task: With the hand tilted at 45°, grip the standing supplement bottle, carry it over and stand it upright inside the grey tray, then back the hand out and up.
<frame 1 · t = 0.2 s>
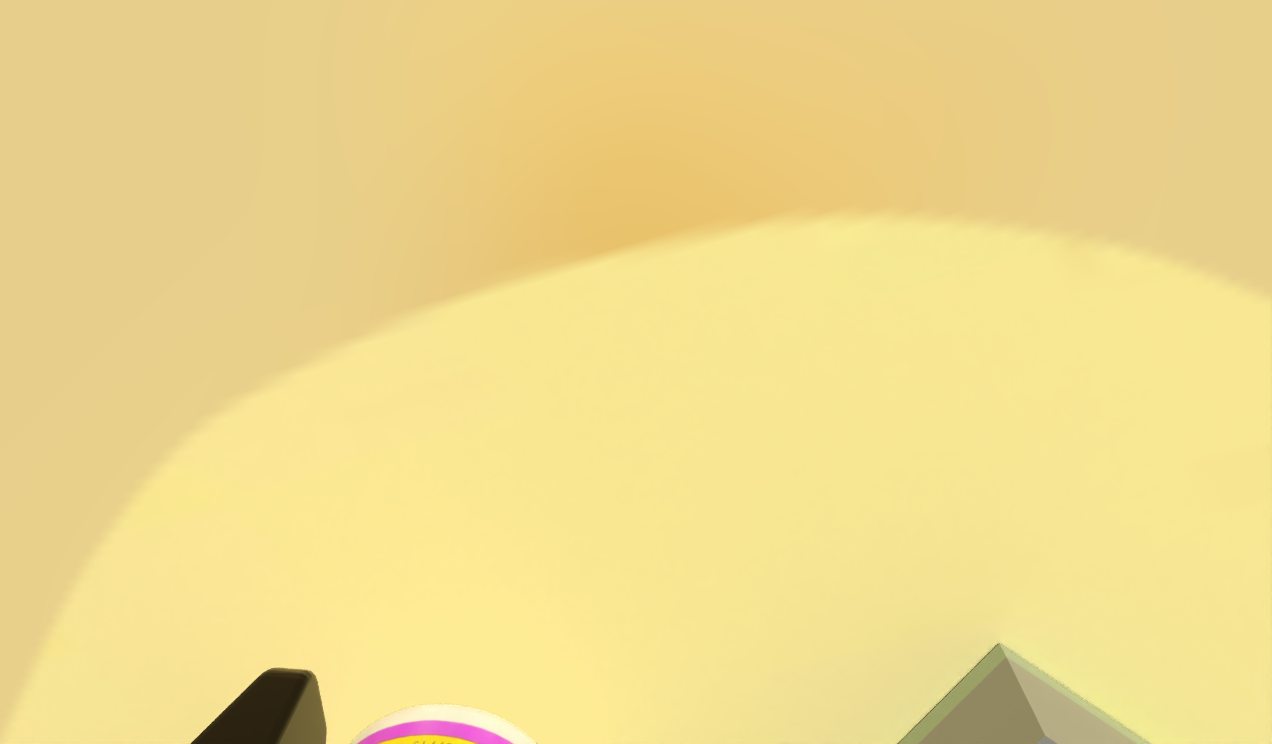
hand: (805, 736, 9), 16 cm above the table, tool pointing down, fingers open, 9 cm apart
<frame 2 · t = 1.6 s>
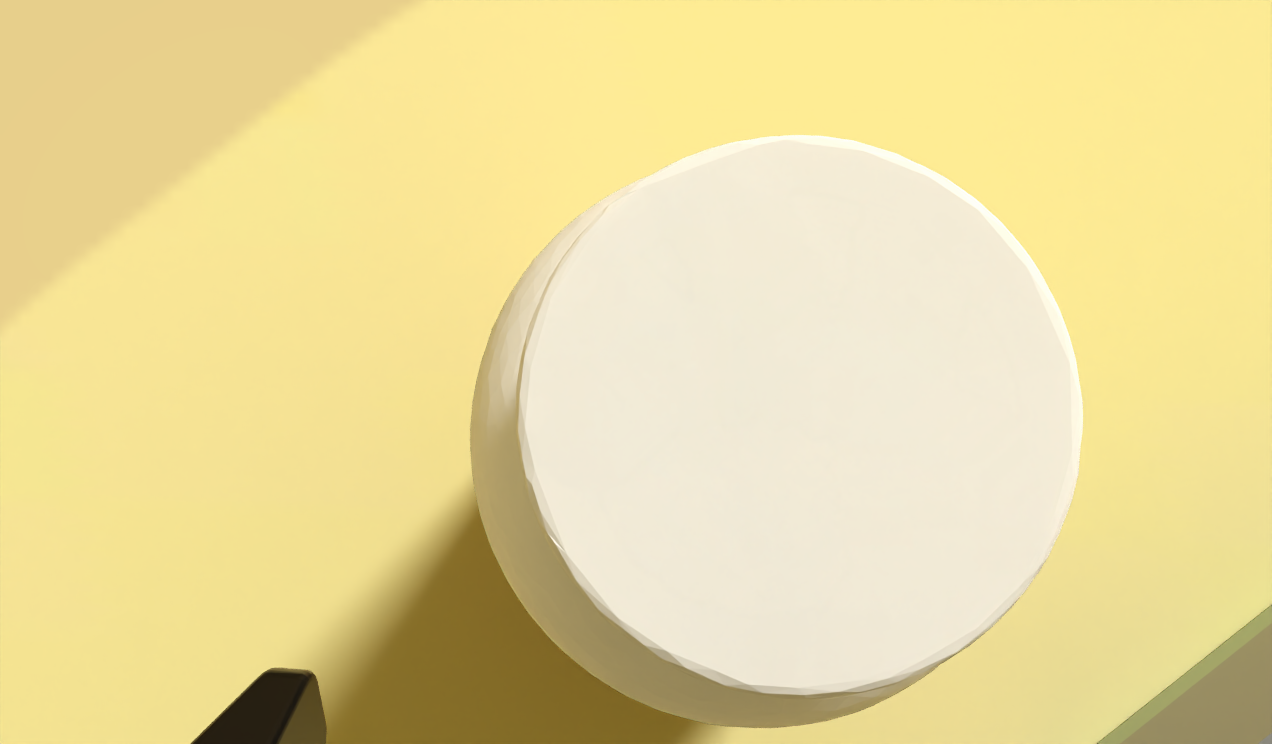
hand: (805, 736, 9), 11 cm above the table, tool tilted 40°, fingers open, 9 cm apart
supplement bottle: (704, 462, 21), on the table
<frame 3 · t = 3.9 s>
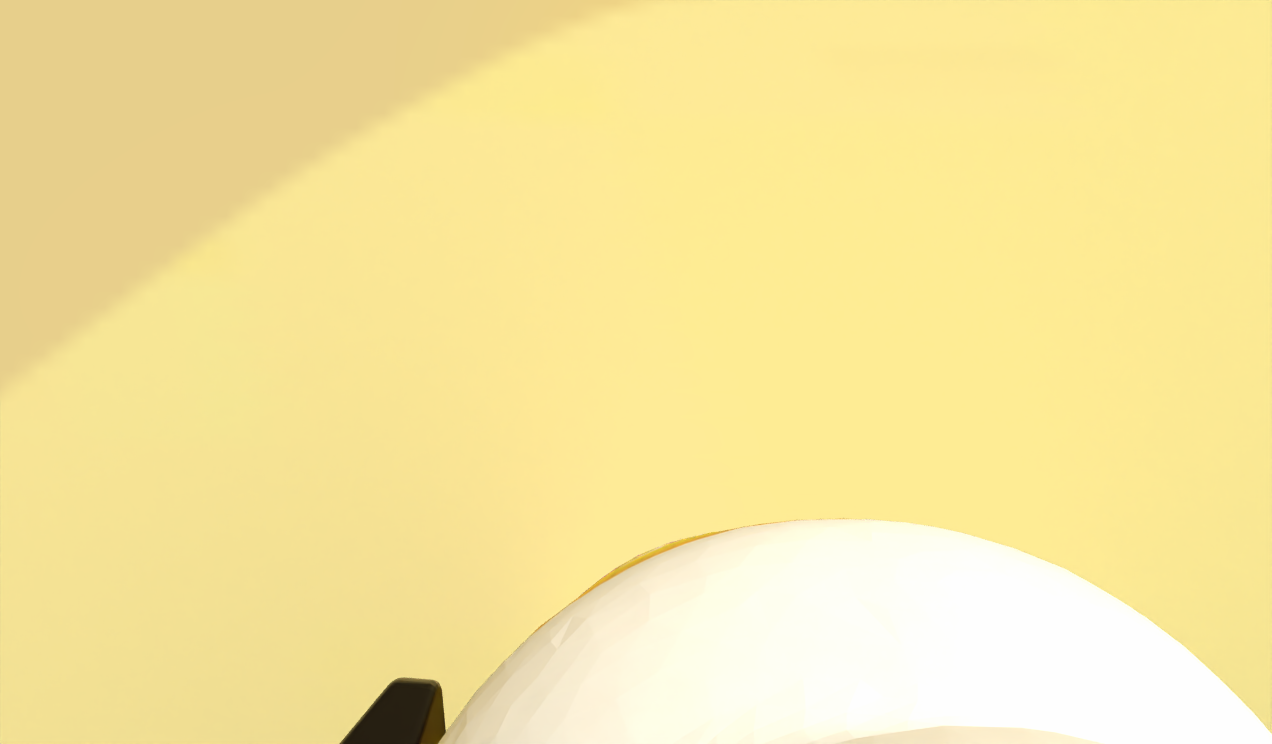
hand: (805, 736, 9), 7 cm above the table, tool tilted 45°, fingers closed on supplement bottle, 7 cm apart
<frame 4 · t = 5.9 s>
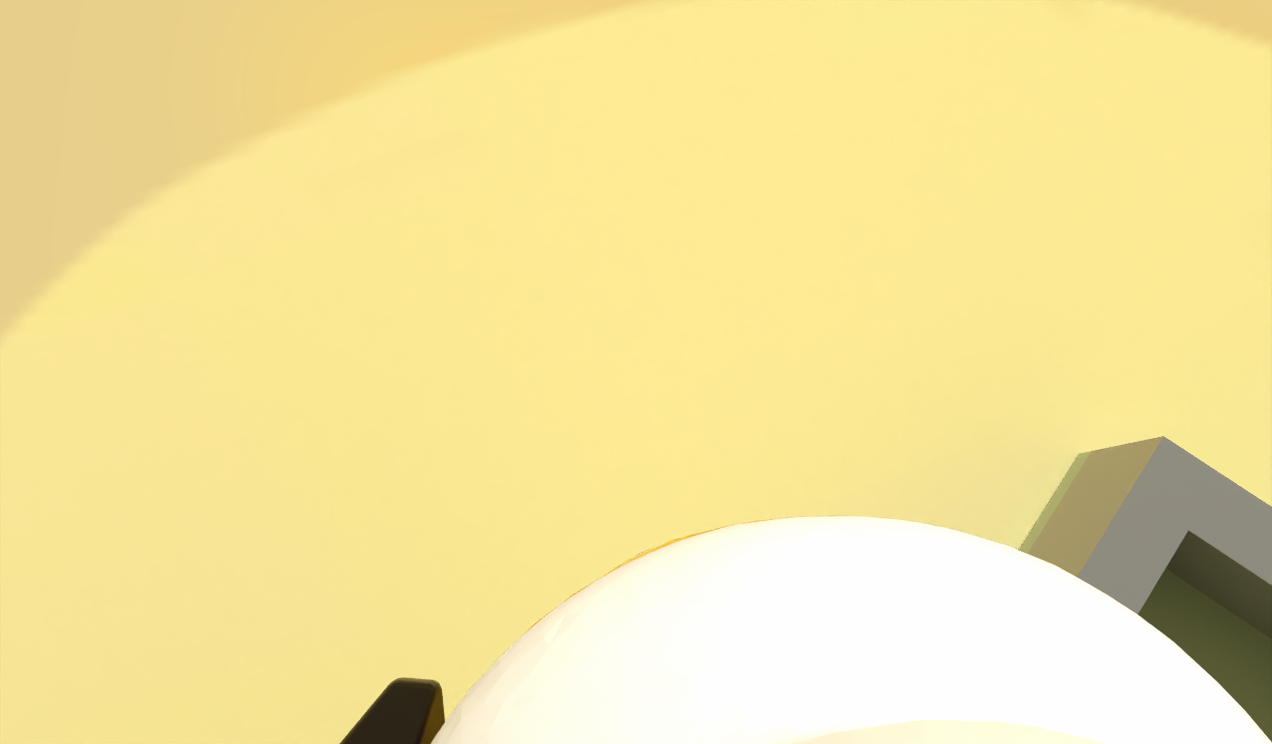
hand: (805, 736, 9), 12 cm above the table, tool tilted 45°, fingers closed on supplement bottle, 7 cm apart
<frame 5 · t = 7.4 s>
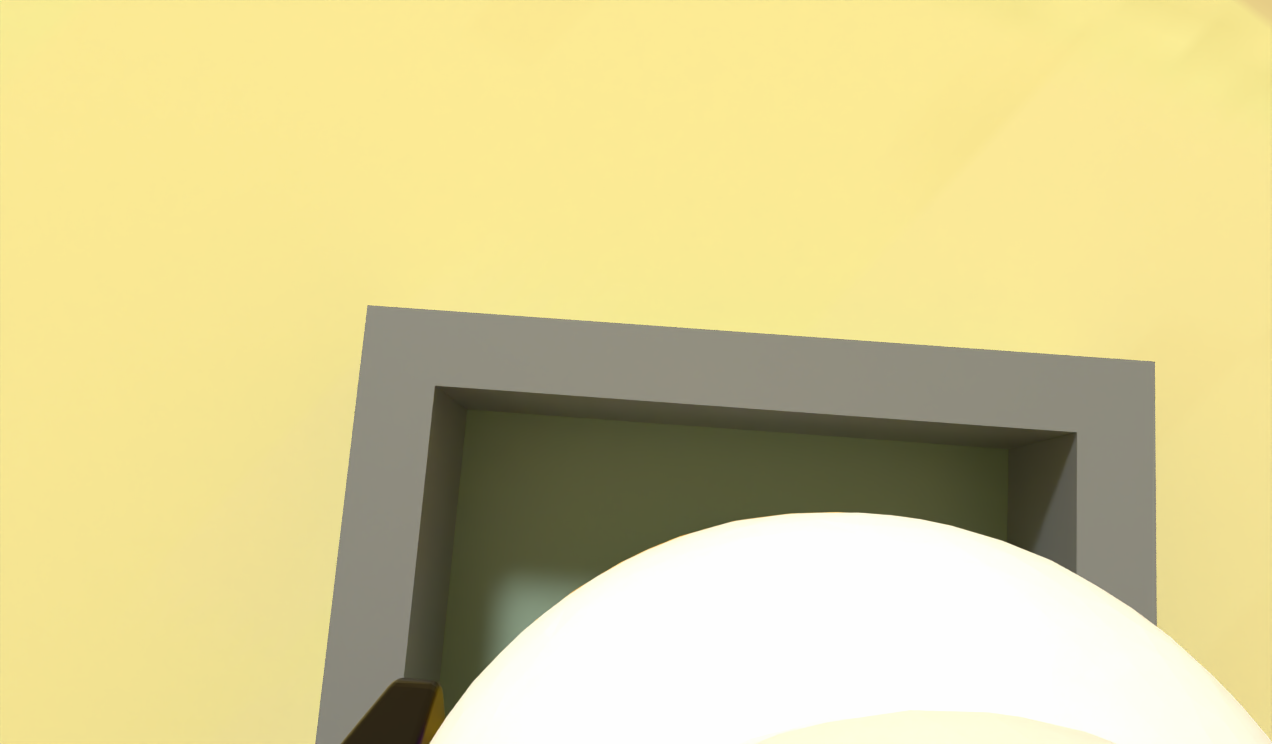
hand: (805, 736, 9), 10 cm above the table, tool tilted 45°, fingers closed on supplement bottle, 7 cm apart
grey tray: (717, 704, 19), on the table
when the fingers open (8 cm above the table, at t = 8.2 s): supplement bottle drops 1 cm, resting on grey tray.
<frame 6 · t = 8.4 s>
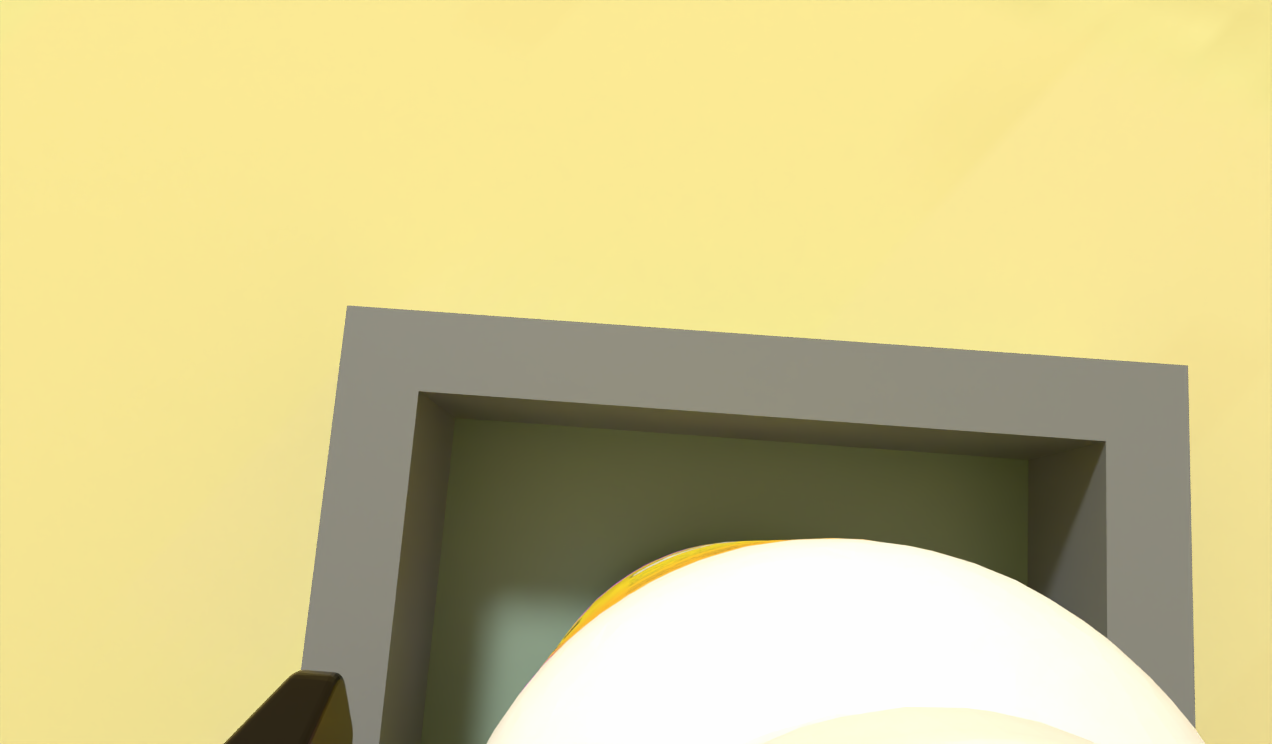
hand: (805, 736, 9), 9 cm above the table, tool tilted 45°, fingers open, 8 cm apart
grey tray: (720, 732, 18), on the table
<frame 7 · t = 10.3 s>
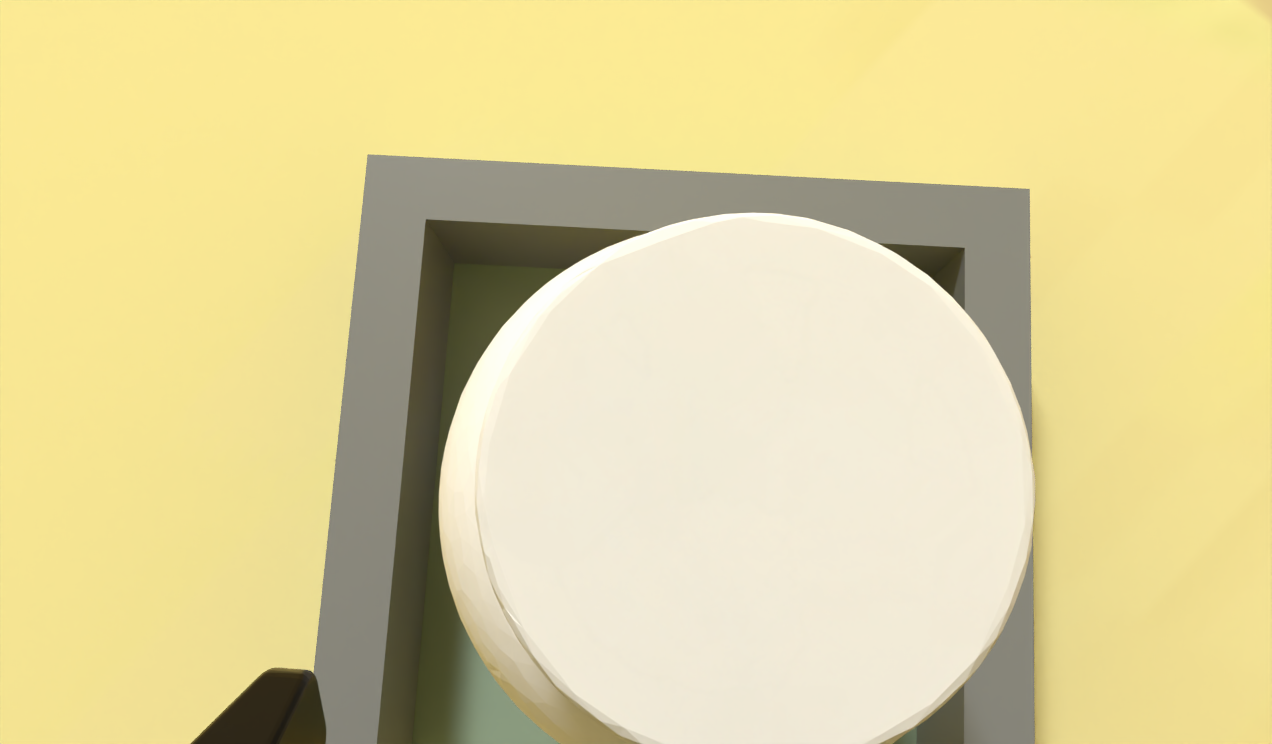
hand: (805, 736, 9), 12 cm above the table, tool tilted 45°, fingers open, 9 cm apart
supplement bottle: (683, 518, 21), resting on grey tray
grey tray: (674, 511, 22), on the table
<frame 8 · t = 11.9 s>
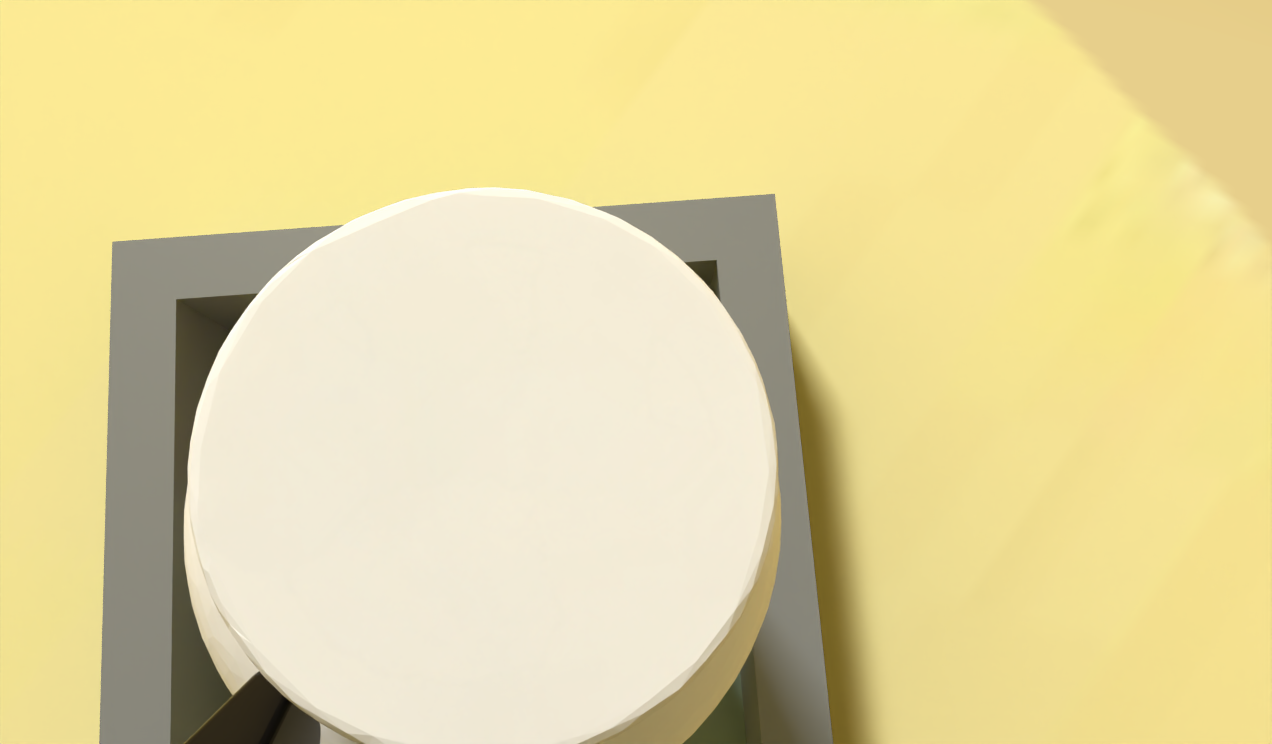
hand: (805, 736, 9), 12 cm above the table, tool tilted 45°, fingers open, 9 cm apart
supplement bottle: (491, 562, 21), point 1 cm above the table, touching grey tray, gripper
grey tray: (488, 556, 21), on the table
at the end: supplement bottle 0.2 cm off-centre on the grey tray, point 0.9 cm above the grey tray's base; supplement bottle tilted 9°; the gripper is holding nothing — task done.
